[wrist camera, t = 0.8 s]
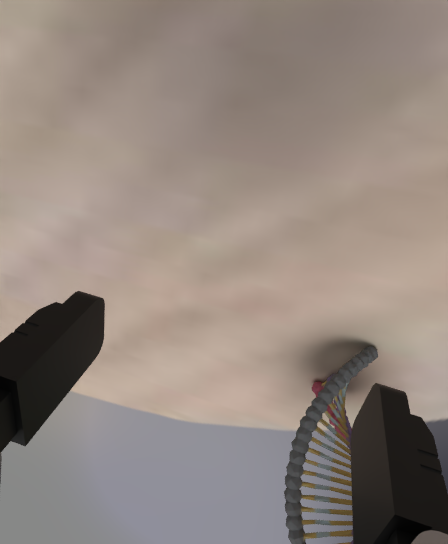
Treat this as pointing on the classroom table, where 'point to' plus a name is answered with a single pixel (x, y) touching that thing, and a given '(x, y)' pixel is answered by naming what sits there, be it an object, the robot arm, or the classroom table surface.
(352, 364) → the dna model
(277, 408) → the classroom table surface
